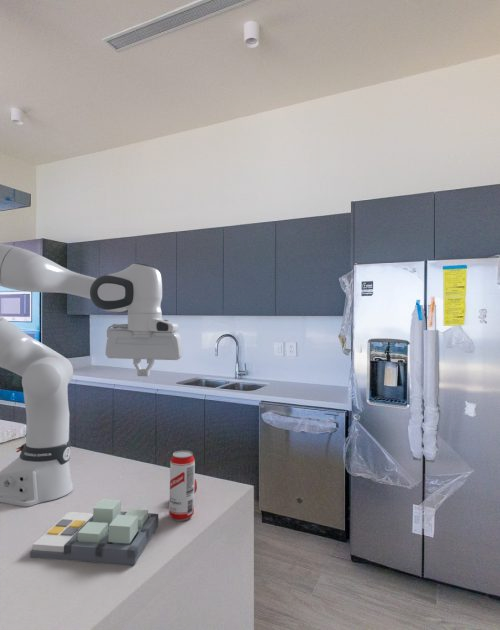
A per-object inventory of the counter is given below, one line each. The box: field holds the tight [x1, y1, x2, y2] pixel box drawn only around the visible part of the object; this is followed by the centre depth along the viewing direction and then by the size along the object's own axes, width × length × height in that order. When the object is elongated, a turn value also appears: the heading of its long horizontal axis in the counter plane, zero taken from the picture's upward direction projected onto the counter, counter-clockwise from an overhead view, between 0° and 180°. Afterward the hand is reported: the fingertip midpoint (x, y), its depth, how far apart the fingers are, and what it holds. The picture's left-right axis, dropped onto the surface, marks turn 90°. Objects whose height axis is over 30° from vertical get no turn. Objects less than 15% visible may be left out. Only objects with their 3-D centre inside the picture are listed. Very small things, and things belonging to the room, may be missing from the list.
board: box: [29, 511, 159, 566], centre depth 88 cm, size 23×15×3 cm
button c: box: [108, 515, 138, 544], centre depth 84 cm, size 5×5×4 cm
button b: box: [92, 498, 122, 524], centre depth 92 cm, size 5×5×4 cm
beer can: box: [168, 449, 196, 522], centre depth 100 cm, size 6×6×16 cm
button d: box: [125, 508, 149, 528], centre depth 91 cm, size 5×5×4 cm
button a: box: [78, 522, 108, 543], centre depth 85 cm, size 5×5×4 cm
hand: (143, 376), depth 104 cm, fingers closed
